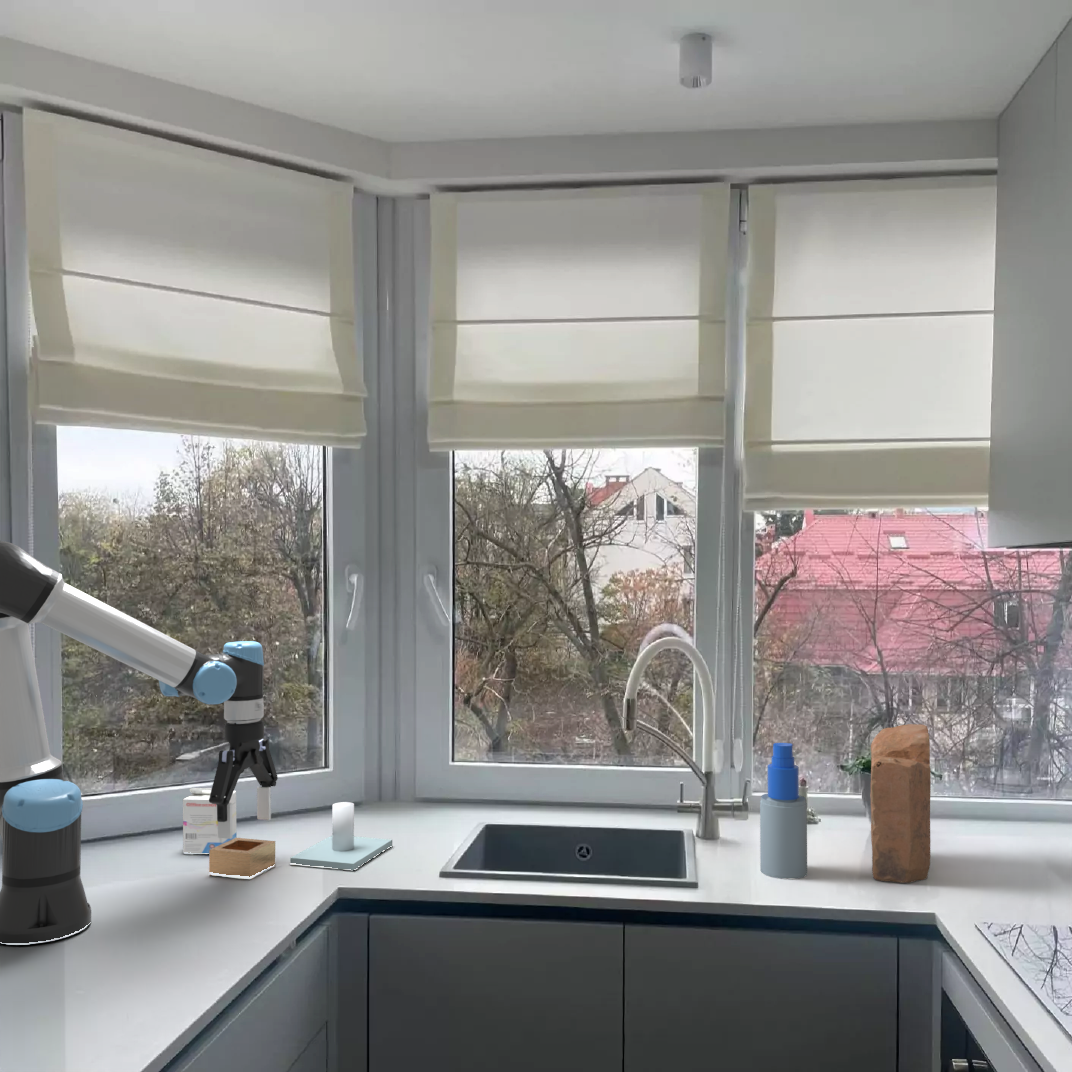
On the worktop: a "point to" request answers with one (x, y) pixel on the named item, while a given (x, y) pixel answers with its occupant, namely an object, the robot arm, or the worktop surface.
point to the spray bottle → (783, 819)
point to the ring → (242, 857)
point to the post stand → (342, 844)
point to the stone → (900, 803)
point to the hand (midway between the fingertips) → (245, 828)
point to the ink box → (203, 822)
